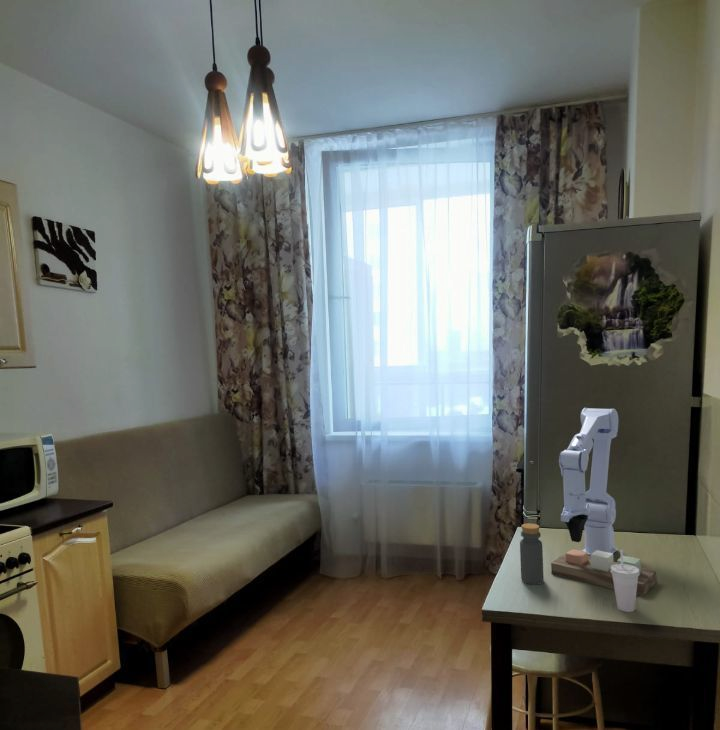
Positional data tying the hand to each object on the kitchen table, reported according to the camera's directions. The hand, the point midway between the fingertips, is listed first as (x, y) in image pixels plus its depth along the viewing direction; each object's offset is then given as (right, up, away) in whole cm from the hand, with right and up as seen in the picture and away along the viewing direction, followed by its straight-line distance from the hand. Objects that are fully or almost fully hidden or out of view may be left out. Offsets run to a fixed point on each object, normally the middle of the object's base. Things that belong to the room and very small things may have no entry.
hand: (576, 541), depth 160 cm
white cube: (+5, -6, -5) cm, 9 cm away
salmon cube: (0, -7, 0) cm, 7 cm away
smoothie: (+3, -9, -23) cm, 25 cm away
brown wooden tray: (+5, -9, -5) cm, 11 cm away
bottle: (-14, -10, -5) cm, 17 cm away
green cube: (+10, -6, -10) cm, 15 cm away
